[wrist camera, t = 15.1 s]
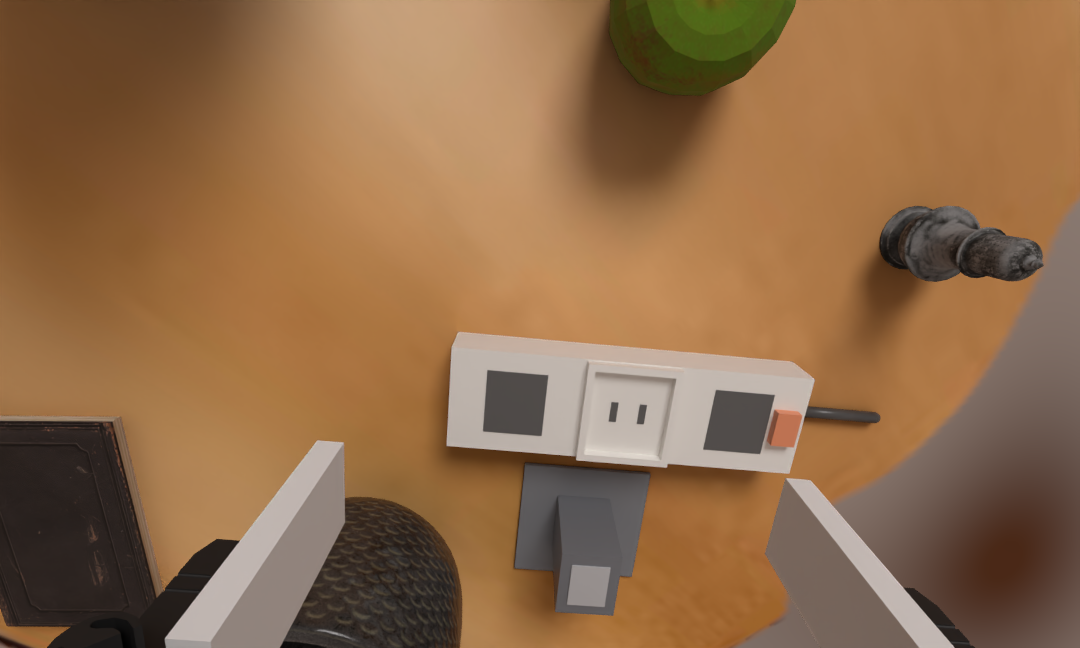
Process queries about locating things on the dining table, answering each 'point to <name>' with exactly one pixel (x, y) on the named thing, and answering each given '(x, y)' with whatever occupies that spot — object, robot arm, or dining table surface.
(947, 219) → the grey chess piece
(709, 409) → the strip
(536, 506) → the mat
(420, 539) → the planter
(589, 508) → the charger
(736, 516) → the dining table surface
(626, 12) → the apple
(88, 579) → the hardcover book
